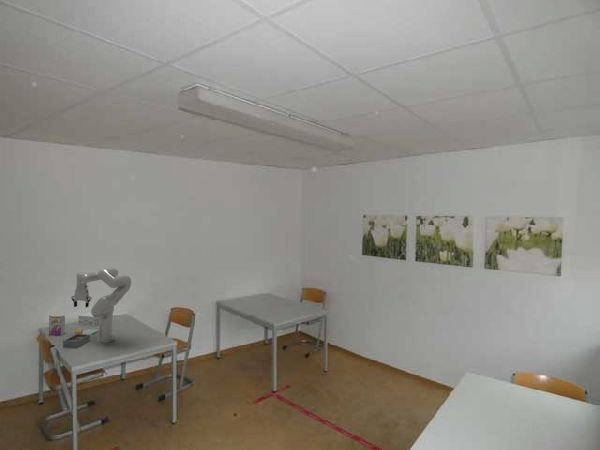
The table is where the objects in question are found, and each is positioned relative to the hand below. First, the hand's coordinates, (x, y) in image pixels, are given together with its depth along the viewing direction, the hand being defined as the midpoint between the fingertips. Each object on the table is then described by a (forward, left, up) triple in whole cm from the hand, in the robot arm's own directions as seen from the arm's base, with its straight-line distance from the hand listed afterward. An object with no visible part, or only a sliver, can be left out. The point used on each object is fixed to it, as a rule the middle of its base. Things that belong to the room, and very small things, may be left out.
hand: (81, 306), depth 302 cm
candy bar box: (+22, -1, -25) cm, 34 cm away
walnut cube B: (-10, +23, -24) cm, 35 cm away
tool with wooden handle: (-2, -2, -25) cm, 25 cm away
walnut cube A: (-10, +17, -24) cm, 31 cm away
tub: (-10, +20, -25) cm, 33 cm away
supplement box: (+12, -33, -26) cm, 43 cm away
